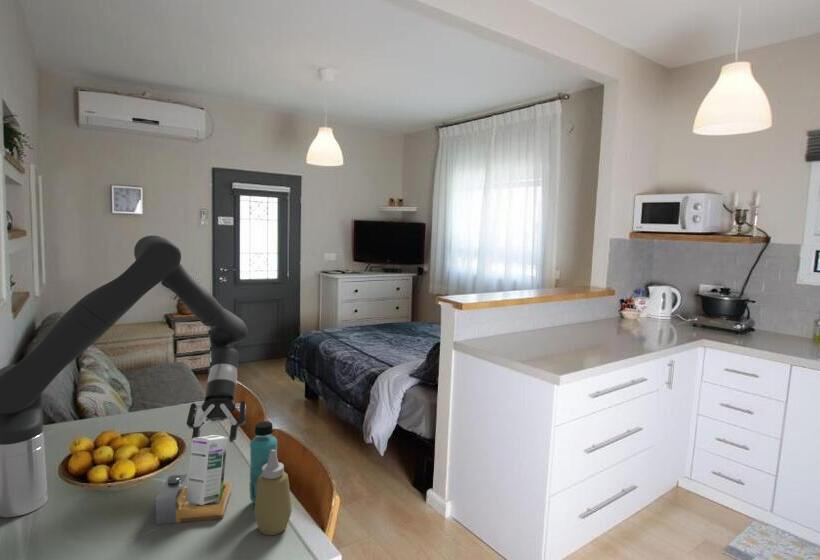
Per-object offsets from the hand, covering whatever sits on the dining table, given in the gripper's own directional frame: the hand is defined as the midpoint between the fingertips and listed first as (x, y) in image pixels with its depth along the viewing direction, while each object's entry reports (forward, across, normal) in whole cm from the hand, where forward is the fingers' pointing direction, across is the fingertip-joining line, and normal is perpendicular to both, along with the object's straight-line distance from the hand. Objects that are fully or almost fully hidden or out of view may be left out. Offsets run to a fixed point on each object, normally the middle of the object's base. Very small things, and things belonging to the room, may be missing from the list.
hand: (213, 442), depth 120 cm
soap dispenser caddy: (+15, -2, 0) cm, 15 cm away
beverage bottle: (+15, +13, +1) cm, 20 cm away
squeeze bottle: (+22, +16, -6) cm, 29 cm away
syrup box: (+14, 0, -1) cm, 14 cm away
